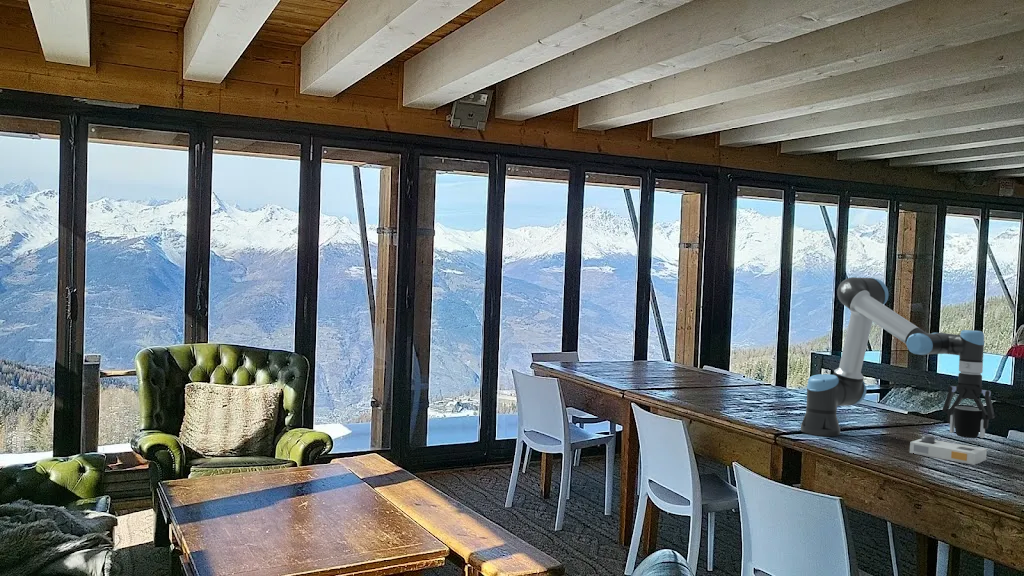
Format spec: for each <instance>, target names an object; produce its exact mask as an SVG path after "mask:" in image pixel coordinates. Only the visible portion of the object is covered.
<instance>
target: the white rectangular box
mask: <svg viewBox="0 0 1024 576" xmlns="http://www.w3.org/2000/svg"><path fill="white" fill-rule="evenodd" d="M921 441H922V438H919V439H915V440H912V441H910V443H909V454H913V453H914V455H920V456H926V457H929V458H935V459H941V460H947V461H952V462H957V463H961V464H968V465H972V466H975V465H977V464H980V463H982V462H985V461H986V460H987V452H988V451H987V448H983V447H976V446H971V445H965V444H961V443H960V444H959V443H953V442H949V441H942V440H937V439H935V443H934V444H930V443H924V442H921ZM959 448H969V449H972V451H969V450H963V449H959Z"/></svg>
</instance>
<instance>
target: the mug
mask: <svg viewBox="0 0 1024 576" xmlns="http://www.w3.org/2000/svg"><path fill="white" fill-rule="evenodd" d="M953 414H954V424H955V429H954V432H955V435H956V436H958V437H961V438H966V439H976V438H978V436H979V435H980V425H981V419H983V417H982V410H979V409H978V407H973V406H965V405H963V406H962V405H958V406H956V407H955V408H954V413H953Z"/></svg>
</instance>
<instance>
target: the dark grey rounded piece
mask: <svg viewBox="0 0 1024 576" xmlns="http://www.w3.org/2000/svg"><path fill="white" fill-rule="evenodd" d="M921 439H922V441H921V442H924V443H930V444H934V443H935V440H936V437H935V436H934V435H933V436H932V435H927V434H926V435H921Z"/></svg>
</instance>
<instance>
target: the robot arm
mask: <svg viewBox="0 0 1024 576" xmlns="http://www.w3.org/2000/svg"><path fill="white" fill-rule="evenodd" d="M836 293H837V298H838V300H839V302H840V303H841V304H842V305H843V306H845V307H846V308H847V309H848V310H849V311H850V317H849V319H848V320H849V321H848V324H847V325H848V326H847V331H846V334H845V340H844V343H843V347H842V351H841V357H840V360H839V361H840V362H839V366H838V368H836V369H834V370H833V374H829V373H819V374H814V375H811V376H809V377H808V379H807V384H806V388H807V389H806V405H805V407H806V409H805V413H804V416H803V420H802V421H801V423H800V431H801V432H802V433H805V434H809V435H815V436H820V437H821V436H822V437H837V436H840V435H841V427H840V424H839V420H838V417H837V411H838V410H837V409H838V408H837V407H841V406H843V407H845V406H846V407H849V406H853V405H857V404H860V403H861V402H862V401H864V399H865V398H866V394H867V386H866V383H865V380H864V378H865V377H864V375H863V373H862V368H863V365H864V360H865V356H866V351H867V346H868V344H869V343H868V342H869V338H870V333H871V329H872V327H873V326H872V324H873V323H874V324H875V325H877V326H879V327H880V328H881V329H883V330H885V331H886V332H887V333H889V334H891V335H892V336H893V337H895V338H896V339H898V340H899V341H901V342H903V344H905V345H906V347H907V350H908V351H909V352H910V353H912V354H913V355H920V356H923V355H924V356H926V355H953V356H959V362H958V372H959V373H958V375H957V376H958V377H957V378H958V379H957V385H955V386H954V385H949V386H948V387H947V392H948V393H947V396H946V398H945V400H944V401H945V402H944V404H943V407H942V412H943V413H945V414H947V424H949V433H950V434H953V433H955V424H954V408H955V407H956V406H960V404H961V402H962V401H963V400H966V399H968V400H971V401H972V400H973V401H974V403H975V404H976V406H977V407H976V408H978V409H979V410H982V419H981V425H980V431H979V438H981V439H983V438H985V435H986V430H987V429H988V428H989V420H991V419H995V417H996V415H995V412H994V407H993V402H992V398H991V397H992V391H991V390H986V389H983V387H982V383H983V375H982V373H983V367H984V366H983V365H984V349H985V333H984V332H983V331H981V330H972V329H963V330H961V331H960V334H953V333H946V332H932V333H928V332H926V331H925V330H923V329H921V328H920V327H918V326H917V325H916V324H914V323H913V322H911V321H909V320H908V319H907V318H904V317H903V315H902V316H901V315H900V314H898V313H897V312H896V311H894V310H893V309H891V308H890V307H888V306H886V305H885V304H886V303H887V302H888V300H889V289H888V286H886V284H885V282H884V281H882V280H881V279H879V278H874V277H856V276H855V277H854V276H853V277H848V278H846V279H844V280H843V281H841V282H840V284H839V285H838V288H837V292H836ZM956 391H957V392H958V395H957V397H956V399H955V400H954V402H953V404H951V403H952V400H953V397H954V394H955V393H956ZM980 395H983V397H984V402H985V405H986V408H985V405H984V404H983V402H982V399H981V396H980ZM950 406H951V407H950Z"/></svg>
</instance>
